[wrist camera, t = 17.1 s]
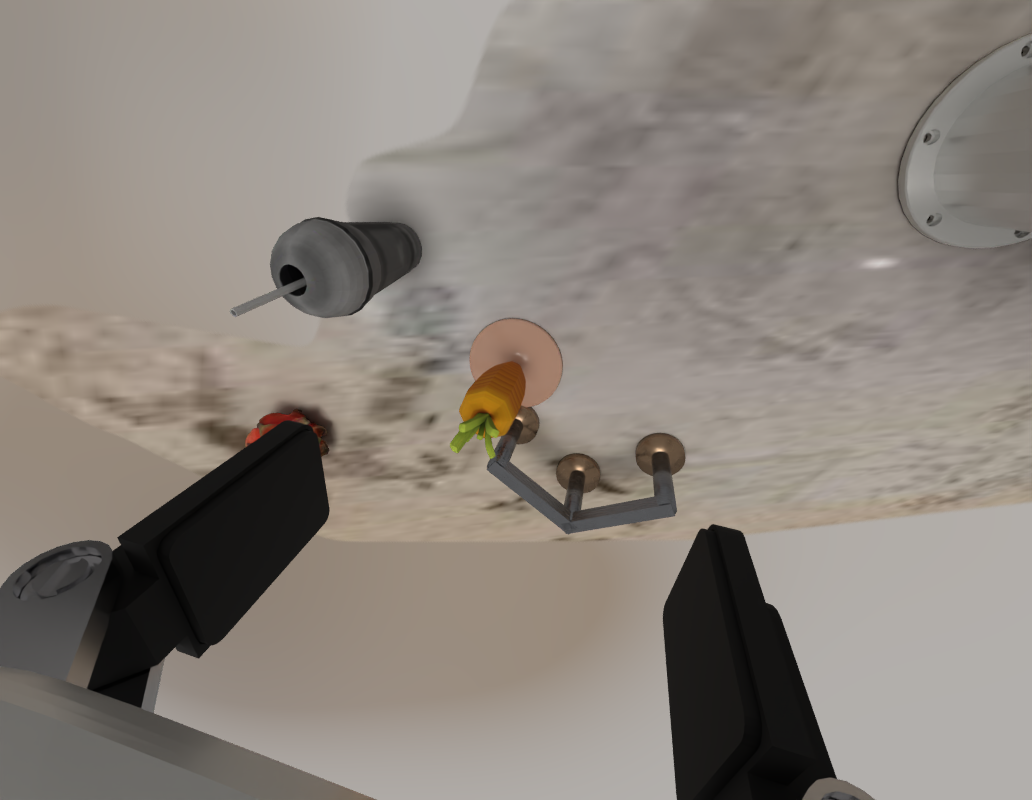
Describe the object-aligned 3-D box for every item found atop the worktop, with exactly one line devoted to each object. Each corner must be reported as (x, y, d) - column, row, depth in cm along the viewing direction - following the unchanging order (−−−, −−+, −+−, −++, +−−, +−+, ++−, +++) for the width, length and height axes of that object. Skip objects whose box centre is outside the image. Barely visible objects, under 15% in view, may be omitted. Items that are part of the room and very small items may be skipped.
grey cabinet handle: (690, 439, 43) (704, 497, 35) (663, 508, 48) (670, 573, 40) (498, 397, 46) (472, 442, 38) (491, 466, 51) (466, 519, 43)
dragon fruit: (355, 424, 56) (295, 424, 61) (304, 396, 49) (241, 398, 54) (333, 486, 52) (271, 480, 57) (274, 465, 45) (211, 461, 50)
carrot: (540, 346, 42) (500, 420, 29) (537, 389, 44) (499, 476, 31) (493, 340, 43) (434, 410, 30) (493, 383, 45) (438, 465, 32)
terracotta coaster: (570, 328, 41) (569, 330, 40) (554, 413, 46) (553, 416, 45) (474, 310, 42) (472, 312, 42) (469, 395, 47) (467, 397, 47)
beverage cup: (448, 240, 40) (310, 287, 22) (414, 298, 43) (274, 378, 26) (385, 190, 39) (193, 200, 22) (357, 254, 42) (173, 306, 25)
